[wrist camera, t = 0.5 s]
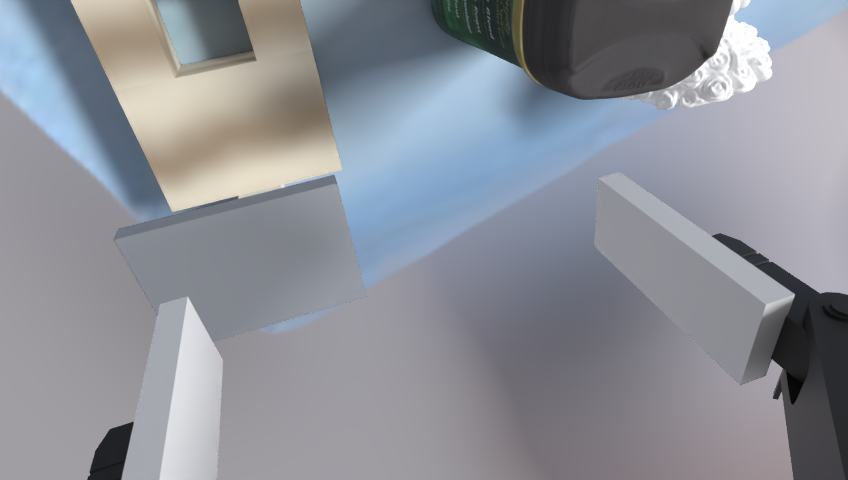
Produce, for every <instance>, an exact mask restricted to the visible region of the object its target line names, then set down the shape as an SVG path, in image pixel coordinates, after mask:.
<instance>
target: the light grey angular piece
mask: <svg viewBox="0 0 848 480" xmlns="http://www.w3.org/2000/svg"><path fill="white" fill-rule="evenodd" d="M114 241H115V243H116V245H117V247H118V249H119V250H120V252H121V254H122V256H123V257H124V259H125V261H126V262H127V264H128V266H129V268H130V269H131V271H132V273H133V274H134V276H135V278H136V280H137V281H138V283H139V285H140V287H141V288H142V290H143V292H144V294H145V295H146V297H147V299H148V301H149V302H150V304H151V306H152V308H153V309H154V311H155V313H156V314H157V316H158V312H159V307H160V304H162V303H166V302H169V301H173V300H176V299H180V298H183V297H187V296H188V298H189V300H190V301H191V303H192V305H193V307H194V309H195V311H196V312H197V314H198V316H199V318H200V320H201V322H202V323H203V325H204V327H205V329H206V331H207V333H208V334H209V336H210V338H211V340H212V342H214V341H217V340H221V339H225V338H228V337H231V336H235V335H238V334H241V333H245V332H248V331H252V330H255V329H259V328H262V327H265V326H269V325H272V324H276V323H279V322H282V321H286V320H289V319H293V318H296V317H300V316H303V315H306V314H310V313H313V312H317V311H320V310H323V309H327V308H330V307H334V306H337V305H340V304H344V303H347V302H351V301H353V300H357V299H361V298H364V297H366V292H365V288H364V284H363V281H362V277H361V273H360V269H359V265H358V261H357V258H356V254H355V250H354V246H353V242H352V238H351V235H350V231H349V227H348V223H347V219H346V216H345V212H344V208H343V204H342V200H341V196H340V193H339V189H338V185H337V182H336V179H335V176H334V175H332V176H328V177H324V178H320V179H316V180H312V181H308V182H304V183H300V184H296V185H292V186H288V187H285V185H284V184H283V185H279V186H275V187H271V188H267V189H263V190H259V191H255V192H251V193H247V194H243V195H239V196H238V199H236V200H232V201H228V202H224V203H220V204H216V205H212V206H208V207H204V208H200V209H196V210H192V211H188V212H184V213H180V214H176V215H172V216H168V217H164V218H160V219H156V220H152V221H148V222H144V223H140V224H136V225H132V226H129V227H124V228H120V229H118V231H117V233H116V236H115V238H114Z"/></svg>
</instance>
